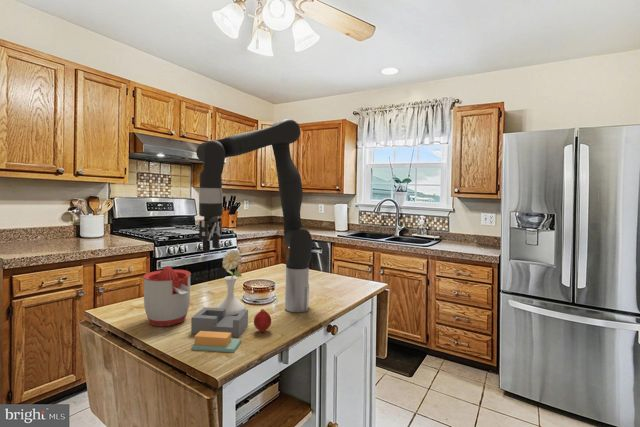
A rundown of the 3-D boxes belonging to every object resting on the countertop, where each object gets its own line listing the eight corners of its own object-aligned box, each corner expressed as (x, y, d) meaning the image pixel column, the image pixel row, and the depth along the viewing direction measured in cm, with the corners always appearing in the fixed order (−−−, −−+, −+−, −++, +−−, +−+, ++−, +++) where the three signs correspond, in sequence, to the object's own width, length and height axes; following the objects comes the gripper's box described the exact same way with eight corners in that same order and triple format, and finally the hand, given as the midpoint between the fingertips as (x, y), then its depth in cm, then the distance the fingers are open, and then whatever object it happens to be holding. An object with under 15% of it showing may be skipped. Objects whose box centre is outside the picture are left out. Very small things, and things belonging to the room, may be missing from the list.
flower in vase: (210, 311, 132) (210, 248, 131) (237, 305, 140) (238, 245, 138) (224, 321, 122) (225, 253, 121) (252, 315, 130) (253, 250, 128)
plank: (231, 340, 105) (231, 332, 105) (226, 346, 101) (227, 338, 101) (200, 338, 106) (200, 330, 106) (194, 344, 102) (194, 336, 102)
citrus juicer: (163, 334, 110) (163, 274, 109) (133, 322, 119) (133, 266, 118) (203, 320, 123) (203, 265, 122) (173, 310, 133) (173, 259, 131)
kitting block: (247, 324, 120) (248, 309, 120) (238, 336, 110) (239, 320, 110) (204, 322, 121) (204, 307, 121) (191, 333, 111) (191, 317, 111)
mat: (241, 342, 107) (241, 338, 106) (234, 352, 100) (234, 349, 100) (201, 339, 108) (201, 336, 108) (191, 349, 101) (191, 346, 101)
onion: (254, 328, 117) (255, 305, 117) (271, 328, 118) (271, 305, 117) (252, 335, 111) (253, 311, 111) (270, 335, 112) (270, 311, 111)
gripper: (214, 202, 106) (214, 254, 107) (228, 201, 120) (228, 246, 121) (190, 202, 106) (191, 253, 107) (207, 200, 120) (208, 246, 121)
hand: (211, 249), depth 114 cm, fingers open, 8 cm apart
